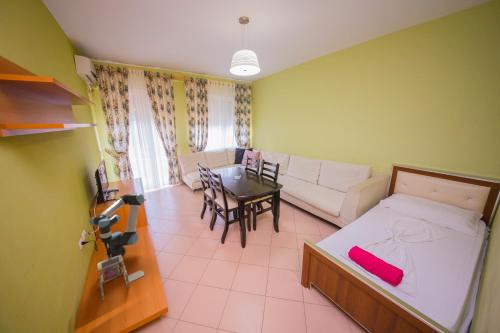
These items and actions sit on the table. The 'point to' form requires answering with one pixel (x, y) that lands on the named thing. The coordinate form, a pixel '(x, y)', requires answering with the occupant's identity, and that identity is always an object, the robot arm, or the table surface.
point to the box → (111, 271)
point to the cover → (109, 262)
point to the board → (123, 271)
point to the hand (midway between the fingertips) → (109, 260)
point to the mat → (135, 276)
